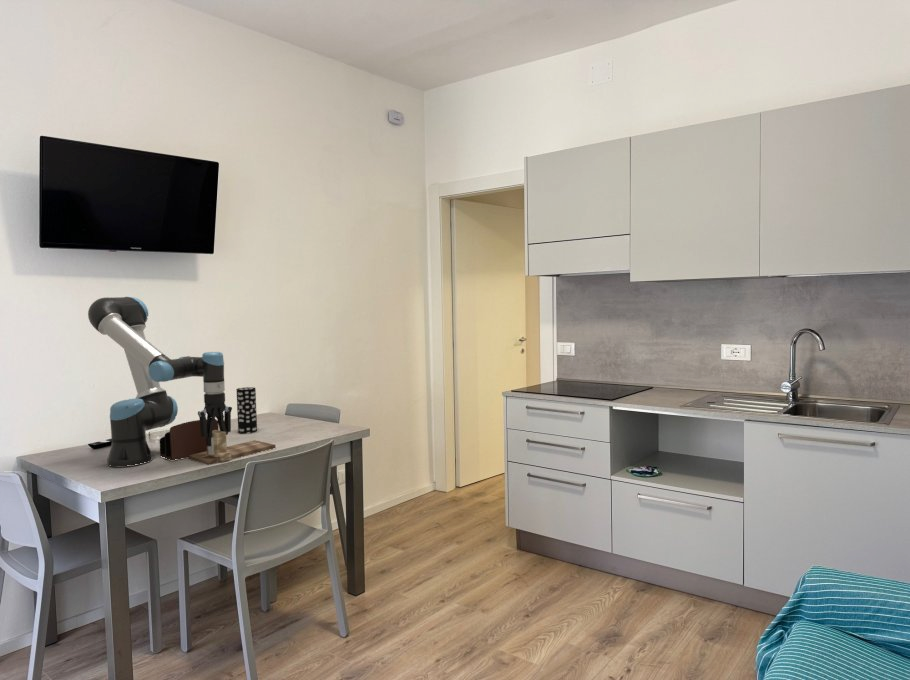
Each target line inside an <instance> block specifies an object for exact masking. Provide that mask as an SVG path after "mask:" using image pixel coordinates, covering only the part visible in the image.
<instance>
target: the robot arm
mask: <svg viewBox="0 0 910 680" xmlns="http://www.w3.org/2000/svg"><path fill="white" fill-rule="evenodd" d="M87 312H88V313H87V316H88V317H87V318H88V321H89V323H90V325H91V326H92V327H93V328H94V329H95V330H96V331H97V332H98V333H100V334H101V335H104V336H106V335H107V336H108V337H109V338H110V339H112V341H114V342H115V343H116V344H118V345H119V346H120V347H121V348H122V349H124V354H125V357H126V360H127V364H128V366H129V370H130V373H131V376H132V380H133V383H134V386H135V390H136V392H137V394H136V397H134V398H129V399H124V400H120V401H116V402H115V403H113V404H112V405H111V406H110V409H109V410H110V411H109V419H110V433H111V445H110V449H109V452H108V456H107V459H106V460H107V466H108V465H111V466H127V465H135V464H140V463H144V462H148V461H150V460H151V459H152V460H153V454H152V451H151V449H150V446H149V445H148V441H147V434H146V431H150V430H154V429H158V428H163V427H165V426H169V425H170V424H172V423H173V422H174V421H175V420H176V417H177V415H178V410H179V409H178V408H179V407H178V403H177V401H176V400H175V398H173V397H172V396H170V395H168V393H167V390H166V389H163V387H161V384H160V383H163V382H169V381H174V380H180V379H185V378H190V377H201V378H202V381H203V392H204V394H203V403H204V407H203V409H202V410H200V411H198V412H197V415H198V417H199V420H200V431H201V436H202V437H205V438H206V445H207V446H208V454H211V455H214V438H213V437H212V431H213V424H214V420H215V419H216V420H217V421H218V429H219V431H223V432H226V436H228V435H229V433H231V431H232V427H231V425H232V410H233V407H231V406H227V405H226V393H225V391H226V390H225V389H226V388H225V386H226V385H225V360H224V354H223V352H220V351H207V352H206V351H205V352H203V353H202V356H189V355H187V356H181V357H179V358H173V359H171V358H169V356H167V355H166V354H164V353H163V352H162V351H161V350H160V349H158V348H157V347H156V346H155V345H153V344H152V343H151V342H149V341H148V340H147V339H146V336H145V332H144V331H145V329H146V328H147V326H146V323H147V321H148V317H149V309H148V308H147V305H146V304H145V302H144V301H143V300H141V299H140V298H137V297H134V296H133V297H132V296H124V297H122V296H121V297H117V296H116V297H102V298H101V297H100V298H98V299H96V300H95V301H93V302H92V303H91V305H90V307H89V308H88V311H87ZM206 419H207V424H206ZM152 460H151V461H152ZM151 461H150V462H151ZM148 463H149V462H148ZM111 466H110V467H111Z"/></svg>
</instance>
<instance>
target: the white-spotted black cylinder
mask: <svg viewBox="0 0 910 680" xmlns="http://www.w3.org/2000/svg"><path fill="white" fill-rule="evenodd" d="M256 390H257V389H256V387H253V386H251V387H250V386H247V387H238V388H236V411H237V433H238V434H240V435H241V434H242V435H244V434H245V435H246V434H247V433H249V434H254V433H257V432H258V420H257V419H258V416H257V392H256Z"/></svg>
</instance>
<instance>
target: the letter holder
mask: <svg viewBox="0 0 910 680" xmlns="http://www.w3.org/2000/svg"><path fill="white" fill-rule="evenodd" d="M206 424H207V418H206ZM213 430H218V431H220V429H219V425H218V420H217V418H215V420H214V424H213ZM206 451H207V445H206V438H204V437H202V436H201V431H200V419H197V420H191V421H186V422H182V423H180V424H179V423H178V424H176V425H173V426H171V427H170V428H169V431H168V432H166V433H165V434H164V435H163V436H162V437H160V438H159V457H160V456H162V457H165V458H167V459H170V460H175V459H180V460H182V459H181V458H185V459H187V458H186V457H188V455H193V454H197V453H201V452H206ZM167 459H166V460H167ZM170 460H169V461H170ZM175 461H176V460H175Z"/></svg>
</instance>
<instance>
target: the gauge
mask: <svg viewBox="0 0 910 680" xmlns="http://www.w3.org/2000/svg"><path fill="white" fill-rule="evenodd" d="M212 437H213V438H214V455H211V454H208V446H207V455H210V456H214V457H218V458H220V461H221V462H220V463H222V462H223V463H224V462H227V461H230V460H232V459H231V452H227V447H228V445H227V435H226V432H223V431H220V430H219V431H218V430H213V431H212ZM204 438H205V437H204Z"/></svg>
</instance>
